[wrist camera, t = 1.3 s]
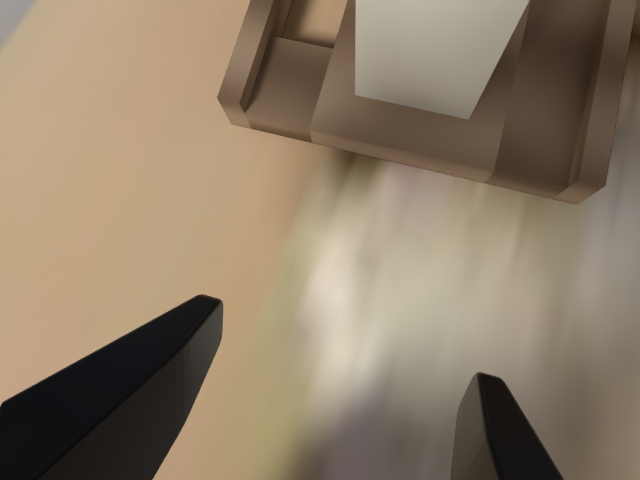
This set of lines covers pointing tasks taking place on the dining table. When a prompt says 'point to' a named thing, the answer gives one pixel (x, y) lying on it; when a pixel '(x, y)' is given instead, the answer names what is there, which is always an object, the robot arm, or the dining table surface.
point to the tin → (431, 50)
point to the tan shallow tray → (443, 130)
